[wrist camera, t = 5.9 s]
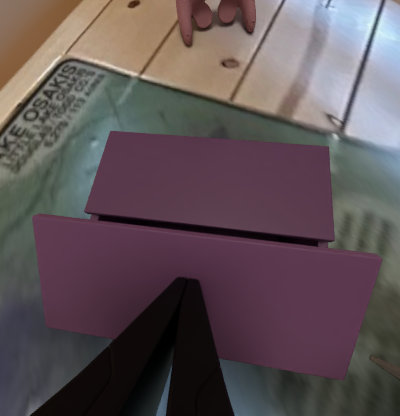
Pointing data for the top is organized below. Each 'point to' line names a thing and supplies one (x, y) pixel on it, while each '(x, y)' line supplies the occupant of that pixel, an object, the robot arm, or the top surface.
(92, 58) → the top surface
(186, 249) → the flap
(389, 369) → the brochure
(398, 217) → the top surface
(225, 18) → the video game controller
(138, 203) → the file box
